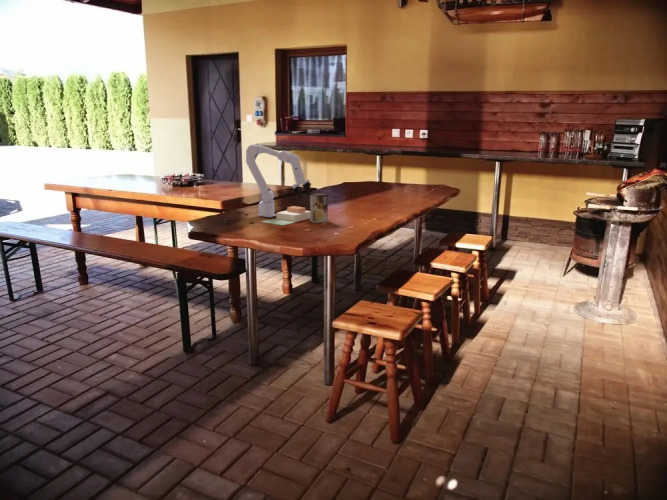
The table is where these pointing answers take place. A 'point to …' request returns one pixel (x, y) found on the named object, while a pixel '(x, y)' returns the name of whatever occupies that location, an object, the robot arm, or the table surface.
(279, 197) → the table surface
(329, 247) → the table surface
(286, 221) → the green mat
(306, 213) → the white panel
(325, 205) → the coffee box
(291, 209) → the terracotta tile
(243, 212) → the table surface
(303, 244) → the table surface
